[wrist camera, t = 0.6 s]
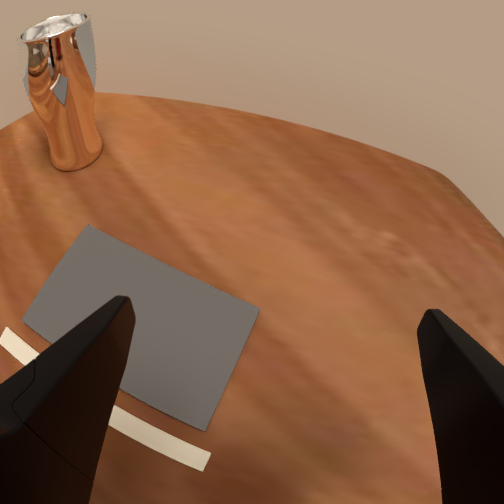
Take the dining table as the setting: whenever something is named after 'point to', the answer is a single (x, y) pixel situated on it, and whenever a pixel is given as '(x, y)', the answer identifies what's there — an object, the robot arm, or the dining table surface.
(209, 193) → the dining table surface
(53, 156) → the beer glass
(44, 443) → the robot arm
